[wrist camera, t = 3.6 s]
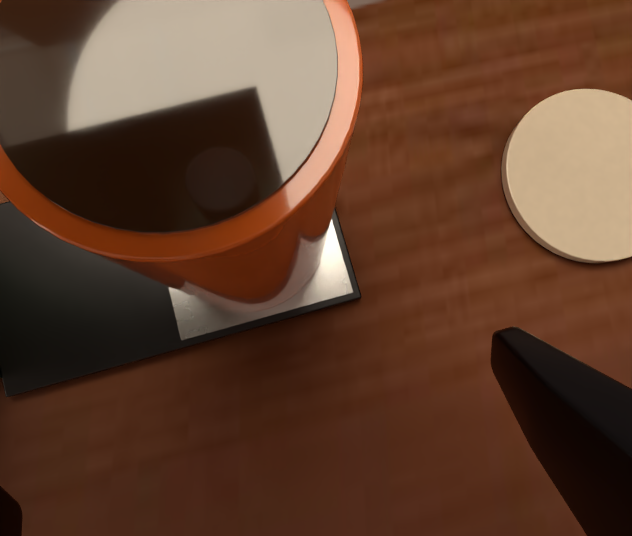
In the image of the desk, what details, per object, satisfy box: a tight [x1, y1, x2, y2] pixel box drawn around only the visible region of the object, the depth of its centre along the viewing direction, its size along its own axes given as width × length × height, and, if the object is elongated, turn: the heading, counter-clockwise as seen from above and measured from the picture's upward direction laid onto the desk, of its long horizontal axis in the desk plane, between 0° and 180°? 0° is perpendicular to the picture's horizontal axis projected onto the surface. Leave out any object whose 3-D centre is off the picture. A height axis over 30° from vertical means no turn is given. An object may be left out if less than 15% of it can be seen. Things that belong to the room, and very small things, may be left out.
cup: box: [0, 0, 363, 312], centre depth 15 cm, size 7×7×13 cm
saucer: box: [501, 89, 632, 263], centre depth 23 cm, size 8×8×1 cm
